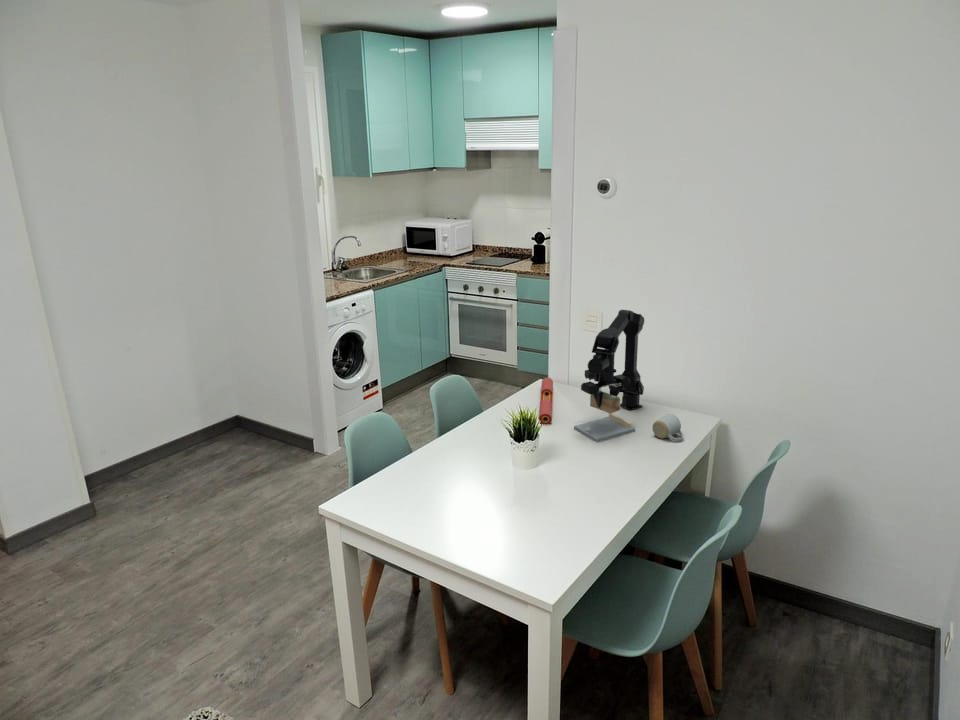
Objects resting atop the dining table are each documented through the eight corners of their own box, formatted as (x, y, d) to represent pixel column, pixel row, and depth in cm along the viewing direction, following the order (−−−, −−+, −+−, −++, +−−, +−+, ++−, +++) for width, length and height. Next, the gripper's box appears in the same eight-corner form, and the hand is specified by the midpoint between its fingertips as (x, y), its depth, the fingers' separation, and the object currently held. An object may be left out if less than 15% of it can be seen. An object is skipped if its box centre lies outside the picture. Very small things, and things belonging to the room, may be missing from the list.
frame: (599, 402, 252) (599, 389, 250) (619, 410, 244) (620, 396, 243) (590, 406, 249) (590, 393, 247) (610, 413, 241) (611, 400, 240)
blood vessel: (541, 387, 296) (541, 377, 294) (553, 387, 295) (553, 377, 294) (538, 425, 256) (538, 413, 255) (551, 425, 256) (551, 413, 254)
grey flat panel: (611, 418, 259) (611, 411, 258) (635, 431, 247) (635, 423, 246) (573, 428, 251) (574, 421, 250) (596, 442, 239) (596, 434, 238)
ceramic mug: (650, 436, 243) (651, 417, 241) (663, 429, 248) (664, 410, 246) (675, 445, 235) (676, 425, 233) (687, 438, 241) (689, 419, 238)
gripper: (612, 356, 252) (610, 394, 257) (572, 364, 244) (571, 403, 249) (631, 363, 243) (629, 403, 248) (590, 373, 235) (590, 413, 240)
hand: (605, 405), depth 246 cm, fingers closed on frame, 5 cm apart
